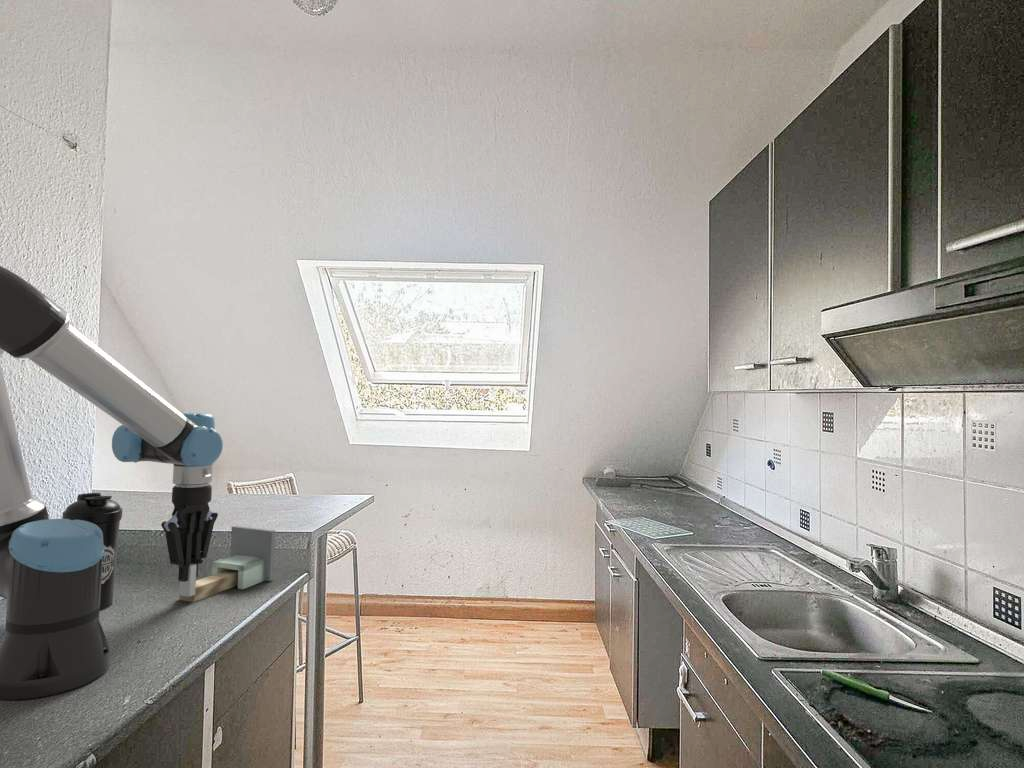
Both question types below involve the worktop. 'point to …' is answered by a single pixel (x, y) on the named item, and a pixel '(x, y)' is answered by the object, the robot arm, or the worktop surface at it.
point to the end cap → (249, 556)
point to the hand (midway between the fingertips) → (187, 594)
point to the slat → (213, 585)
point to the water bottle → (108, 521)
